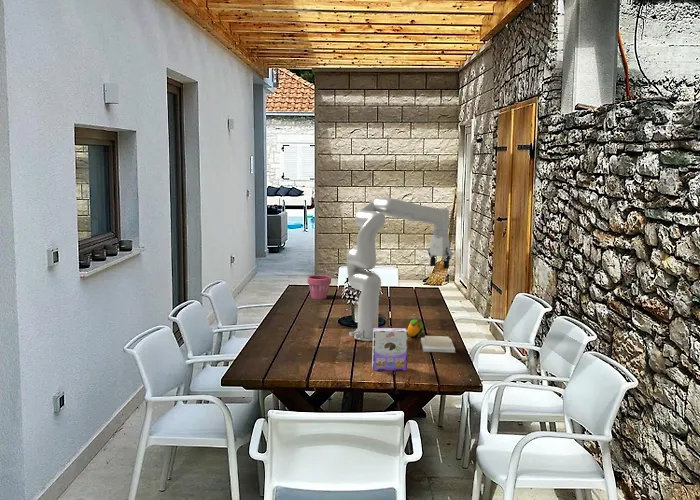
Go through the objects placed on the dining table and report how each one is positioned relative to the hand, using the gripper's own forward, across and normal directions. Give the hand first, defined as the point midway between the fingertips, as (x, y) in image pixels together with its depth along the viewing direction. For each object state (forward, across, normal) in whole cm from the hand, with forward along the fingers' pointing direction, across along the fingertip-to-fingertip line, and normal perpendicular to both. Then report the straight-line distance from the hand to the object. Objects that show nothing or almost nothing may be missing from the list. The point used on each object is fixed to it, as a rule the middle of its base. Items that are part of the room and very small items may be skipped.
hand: (439, 267), depth 379 cm
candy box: (+32, +46, -68) cm, 88 cm away
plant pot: (+31, -97, -7) cm, 102 cm away
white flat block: (+31, +29, -26) cm, 50 cm away
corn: (+32, +8, -22) cm, 39 cm away
